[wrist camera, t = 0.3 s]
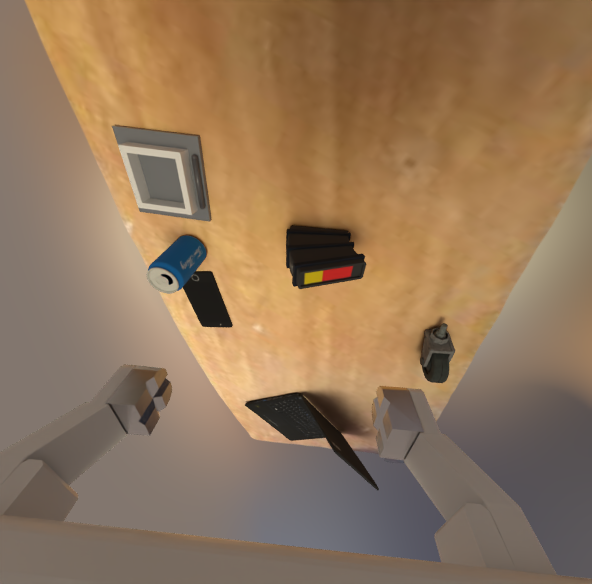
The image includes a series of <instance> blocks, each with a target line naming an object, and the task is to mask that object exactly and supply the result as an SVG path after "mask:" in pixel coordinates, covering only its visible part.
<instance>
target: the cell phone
mask: <svg viewBox="0 0 592 584" xmlns="http://www.w3.org/2000/svg"><path fill="white" fill-rule="evenodd" d="M183 289H184V291H185V293H186V295H187V297H188V299H189V301H190V303H191V305H192V307H193V309H194V311H195V313H196V315H197V317H198V319H199V321H200V323H201V325H202V326H203V327H232V326H233V325H232V322H231V319H230V317H229V314H228V312H227V309H226V306H225V304H224V301H223V299H222V296H221V293H220V291H219V288H218V286H217V283H216V280H215V278H214V275H213V273H212V272H211V271H195V272H194V273H193V275H192V276H191V277H190V279H189V280H188V281H187V282H186V284H185V285H184V286H183Z"/></svg>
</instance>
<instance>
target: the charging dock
mask: <svg viewBox="0 0 592 584" xmlns="http://www.w3.org/2000/svg"><path fill="white" fill-rule="evenodd" d="M112 127H113V131H114V134H115V137H116V140H117V143H118V146H119V149H120V152H121V155H122V158H123V162H124V165H125V168H126V171H127V174H128V177H129V180H130V183H131V186H132V189H133V192H134V195H135V198H136V201H137V205H138V208H139V210H140V212H146V213H153V214H161V215H168V216H175V217H182V218H189V219H196V220H203V221H211V220H212V219H211V212H210V205H209V198H208V191H207V184H206V176H205V169H204V162H203V155H202V148H201V141H200V136H198V135H190V134H182V133H174V132H166V131H157V130H149V129H141V128H133V127H125V126H117V125H115V126H112Z"/></svg>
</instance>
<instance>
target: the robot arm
mask: <svg viewBox="0 0 592 584" xmlns="http://www.w3.org/2000/svg"><path fill="white" fill-rule="evenodd" d="M166 376H167V372H166V369H164V368H154V367H146V366H136V365H126V364H125V365H123V366H121V367H120V368H119V369H118V370H117V371H116V372H115V373H114V375H113V376H112V377H111V378H110V379H109V380H108V382H107V383H106V384H105V385H104V386H103V388H102V389H101V390H100V391H99V392H98V394H97V395H96V396H95V397H94V398H93V399H92V401H91V402H85V403H84V404H82V405H80V406H79V407H77V408H75V409H73V410H72V411H70V412H68V413H66V414H65V415H63V416H61V417H60V418H58V419H56V420H55V421H53V422H51V423H50V424H48V425H46V426H44V427H43V428H41V429H39V430H38V431H36V432H34V433H32V434H31V435H29V436H27V437H25V438H24V439H22V440H20V441H19V442H17V443H15V444H13V445H12V446H10V447H9V448H7V449H5V450H3V451H1V452H0V584H592V579H588V578H579V577H569V576H561V575H557V574H556V572H555V571H554V569H553V567H552V565H551V563H550V561H549V559H548V558H547V556H546V554H545V552H544V550H543V548H542V547H541V545H540V543H539V541H538V539H537V537H536V535H535V534H534V532H533V530H532V528H531V526H530V524H529V523H528V521H527V519H526V517H525V515H524V513H523V512H522V510H521V508H520V506H518V505H517V503H515V502H514V501H513V500H512V499H511V498H510V497H509V496H508V495H507V494H506V493H505V492H504V491H503V490H502V489H501V488H500V487H499V486H498V485H497V484H496V483H495V482H494V481H493V480H492V479H491V478H490V477H489V476H488V475H487V474H486V473H485V472H484V471H483V470H481V469H480V468H479V467H478V466H477V465H476V464H475V463H474V462H473V461H472V460H471V459H470V458H469V457H468V456H467V455H466V454H465V453H464V452H463V451H462V450H461V449H460V448H459V447H458V446H457V445H456V444H455V443H454V442H453V441H452V440H451V439H450V438H448V437H447V436H446V435H443V434H441V433H440V430H439V428H438V426H437V423H436V421H435V418H434V416H433V413H432V411H431V409H430V406H429V404H428V401H427V399H426V397H425V394H424V392H423V391H422V390H421V389H409V388H401V387H386V386H379V387H378V388H377V391H376V394H377V398H375V399H374V400H373V404H372V420H373V425H374V427H375V428H376V429H377V430H378V433H377V436H376V441H377V446H378V451H379V456H380V457H382V458H390V459H398V460H404V462H405V464H406V465H407V467H408V468H409V469H410V471H411V472H412V474H413V475H414V476H415V478H416V479H417V481H418V482H419V483H420V485H421V486H422V488H423V489H424V491H425V492H426V493H427V495H428V496H429V498H430V499H431V500H432V502H433V503H434V505H435V506H436V507H437V509H438V510H439V512H440V513H441V514H442V516H443V517H444V518H445V520H446V521H447V522H446V523H445V524H444V525H443V526H442V527H441V528H440V529H439V530H438V531H437V532H436V534H435V536H434V537H435V541H436V544H437V548H438V551H439V555H440V558H441V562H442V563H441V562H432V561H423V560H414V559H405V558H395V557H385V556H377V555H367V554H359V553H349V552H340V551H331V550H322V549H313V548H304V547H294V546H285V545H276V544H267V543H258V542H249V541H239V540H230V539H221V538H211V537H202V536H193V535H184V534H175V533H166V532H157V531H148V530H138V529H129V528H120V527H110V526H101V525H92V524H83V523H74V522H64V520H65V518H66V517H67V515H68V513H69V512H70V510H71V509H72V507H73V506H74V504H75V503H76V501H77V500H78V494H77V493H76V492H75V491H74V490H73V489H72V488H71V487H70V486H69V485H70V484H71V483H72V482H73V481H75V479H77V478H78V477H79V476H80V475H81V474H83V473H84V472H85V471H86V470H87V469H89V468H90V467H91V466H92V465H93V464H94V463H95V462H97V461H98V460H99V459H100V458H101V457H102V456H104V455H105V454H106V453H107V452H108V451H110V450H111V449H112V448H113V447H114V446H115V445H117V444H118V443H119V442H120V441H121V440H122V439H123V438H124V437H126V436H127V434H134V435H150V434H151V433H152V431H153V429H154V427H155V425H156V424H157V422H158V420H159V418H160V416H159V411H160V410H162V409H164V408H165V407H166V406H167V404H168V402H169V400H170V397H171V393H172V386H171V383H170V381H168V380H167V379H166Z"/></svg>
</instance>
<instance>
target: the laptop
mask: <svg viewBox="0 0 592 584" xmlns="http://www.w3.org/2000/svg"><path fill="white" fill-rule="evenodd" d="M245 406H247V407H248V408H249V409H250V410H252V411H253V412H254V413H256V414H257V415H258V416H260V417H261V418H262V419H263V420H265V421H266V422H267V423H269V424H270V425H271V426H272V427H274V428H275V429H276V430H278V431H279V432H280V433H281V434H283V435H284V436H285V437H286V438H288V439H289V440H291V441H293V440H304V439H315V438H326V439H327V441H328V443H329V444H330V446H331V447H332V449H333V450H334V452H335V453H336V454H337V455H338V456H339V457H340V458H341V459H343V460H344V461H345V462H346V463H347V464H348V465H349V466H351V467H352V468H353V469H354V470H355V471H356V472H357V473H358V474H360V475H361V476H362V477H363V478H364V479H365V480H366V481H367V482H369V483H370V484H371V485H372V486H373V487H374V488H376V489H377V490H379V489H378V487H377V485H376V484H375V482H374V480H373V479H372V477H371V476H370V474H369V473H368V471H367V470H366V468H365V467H364V466H363V464H362V463H361V461H360V460H359V458H358V457H357V456H356V454H355V453H354V451H353V450H352V448H351V447H350V445H349V444H348V442H347V441H346V439H345V438H344V437H343V435H342V434H341V433H340V432H339V431H338V430H337V429H336V428H335V427H334V426H333V425H332V424H331V423H330V422H329V421H328V420H327V419H326V418H325V417H324V416H323V415H322V414H321V413H320V412H319V411H318V410H317V409H316V408H315V407H314V406H313V405H312V404H311V403H310V402H309V401H308V400H307V399H306V398H304V396H303V395H302V394H298V393H297V394H291V395H285V396H279V397H275V398H269V399H263V400H258V401H253V402H248V403H246V404H245Z"/></svg>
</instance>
